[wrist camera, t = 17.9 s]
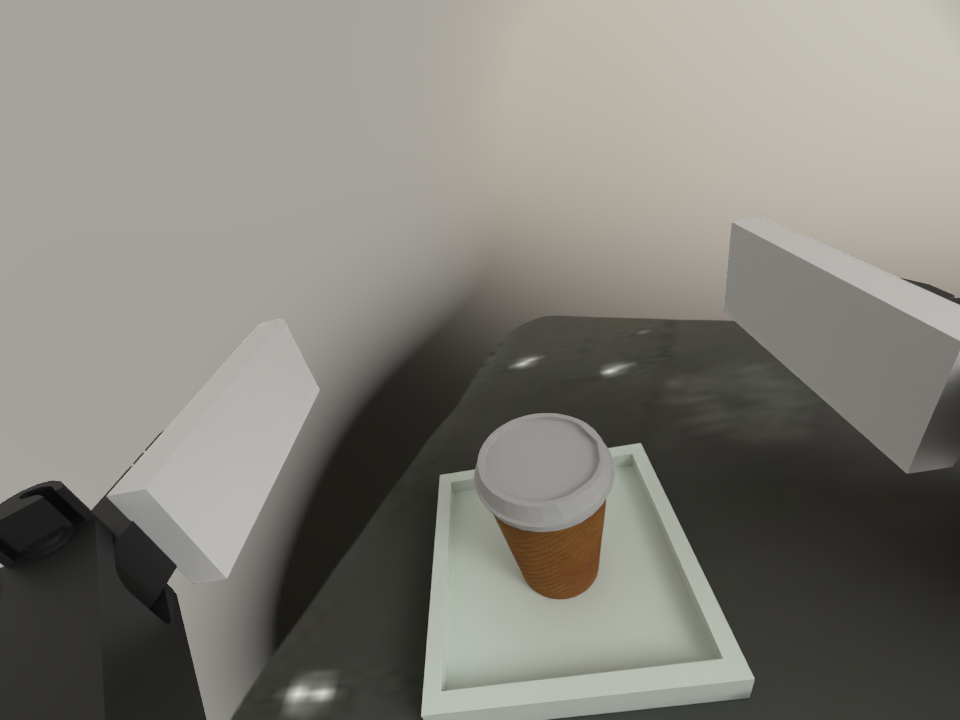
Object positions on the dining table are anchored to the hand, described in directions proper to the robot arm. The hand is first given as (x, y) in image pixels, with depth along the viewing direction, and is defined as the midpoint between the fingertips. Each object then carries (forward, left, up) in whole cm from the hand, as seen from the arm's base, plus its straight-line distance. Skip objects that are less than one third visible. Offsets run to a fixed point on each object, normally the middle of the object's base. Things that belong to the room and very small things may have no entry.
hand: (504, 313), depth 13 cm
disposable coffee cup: (-8, -6, -28) cm, 29 cm away
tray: (-8, -6, -28) cm, 30 cm away
